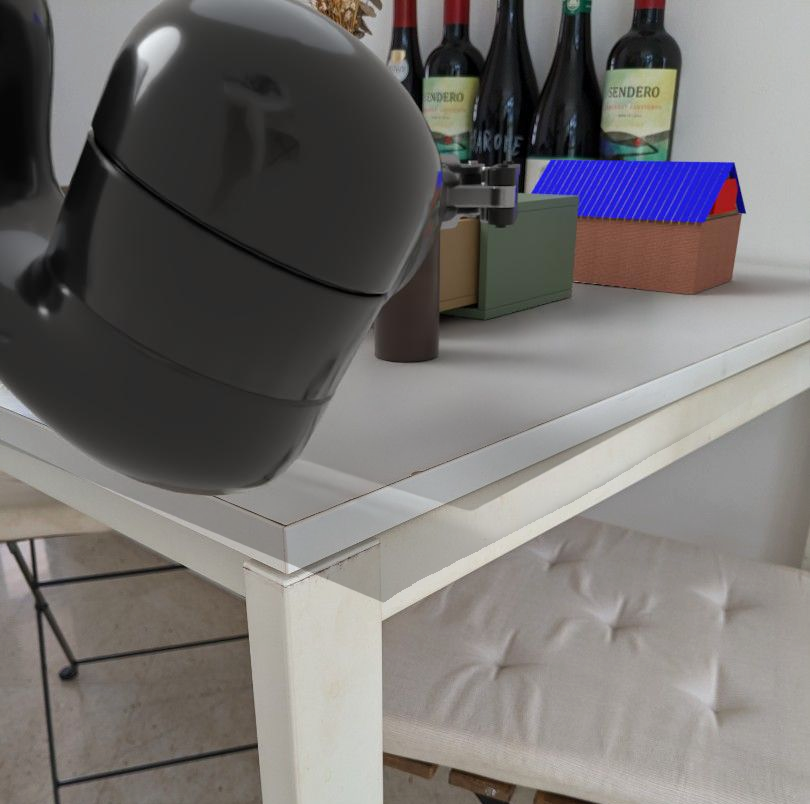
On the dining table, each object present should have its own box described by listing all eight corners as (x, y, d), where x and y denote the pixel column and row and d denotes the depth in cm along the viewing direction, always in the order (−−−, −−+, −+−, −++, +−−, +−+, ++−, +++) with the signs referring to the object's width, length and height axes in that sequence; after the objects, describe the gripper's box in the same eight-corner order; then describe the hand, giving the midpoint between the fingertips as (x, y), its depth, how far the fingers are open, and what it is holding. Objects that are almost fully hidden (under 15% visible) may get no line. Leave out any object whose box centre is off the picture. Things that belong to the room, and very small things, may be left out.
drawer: (372, 335, 63) (370, 230, 60) (267, 317, 69) (260, 221, 66) (510, 300, 76) (514, 212, 73) (410, 288, 82) (410, 206, 79)
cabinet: (485, 320, 72) (489, 205, 68) (373, 303, 80) (371, 199, 76) (571, 296, 83) (579, 195, 79) (465, 284, 90) (468, 190, 86)
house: (568, 264, 103) (576, 158, 98) (735, 279, 92) (754, 160, 86) (516, 277, 94) (522, 161, 89) (694, 295, 83) (712, 164, 78)
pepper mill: (361, 355, 61) (355, 139, 55) (402, 344, 64) (401, 138, 58) (411, 365, 58) (410, 139, 52) (451, 353, 62) (455, 138, 56)
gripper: (181, 301, 36) (272, 253, 51) (520, 305, 35) (513, 254, 50) (159, 102, 33) (263, 112, 48) (531, 98, 32) (520, 109, 46)
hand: (390, 184), depth 49 cm, fingers open, 8 cm apart
